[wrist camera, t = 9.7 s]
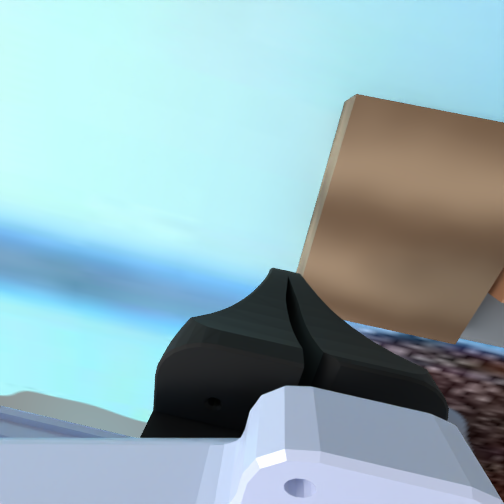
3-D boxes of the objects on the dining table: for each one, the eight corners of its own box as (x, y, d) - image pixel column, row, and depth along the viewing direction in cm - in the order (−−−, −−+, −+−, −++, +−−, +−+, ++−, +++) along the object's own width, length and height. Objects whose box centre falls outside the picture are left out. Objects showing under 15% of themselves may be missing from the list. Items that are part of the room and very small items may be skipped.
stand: (433, 319, 22) (455, 344, 19) (291, 288, 22) (292, 308, 20) (534, 139, 17) (584, 138, 14) (344, 101, 17) (356, 93, 14)
